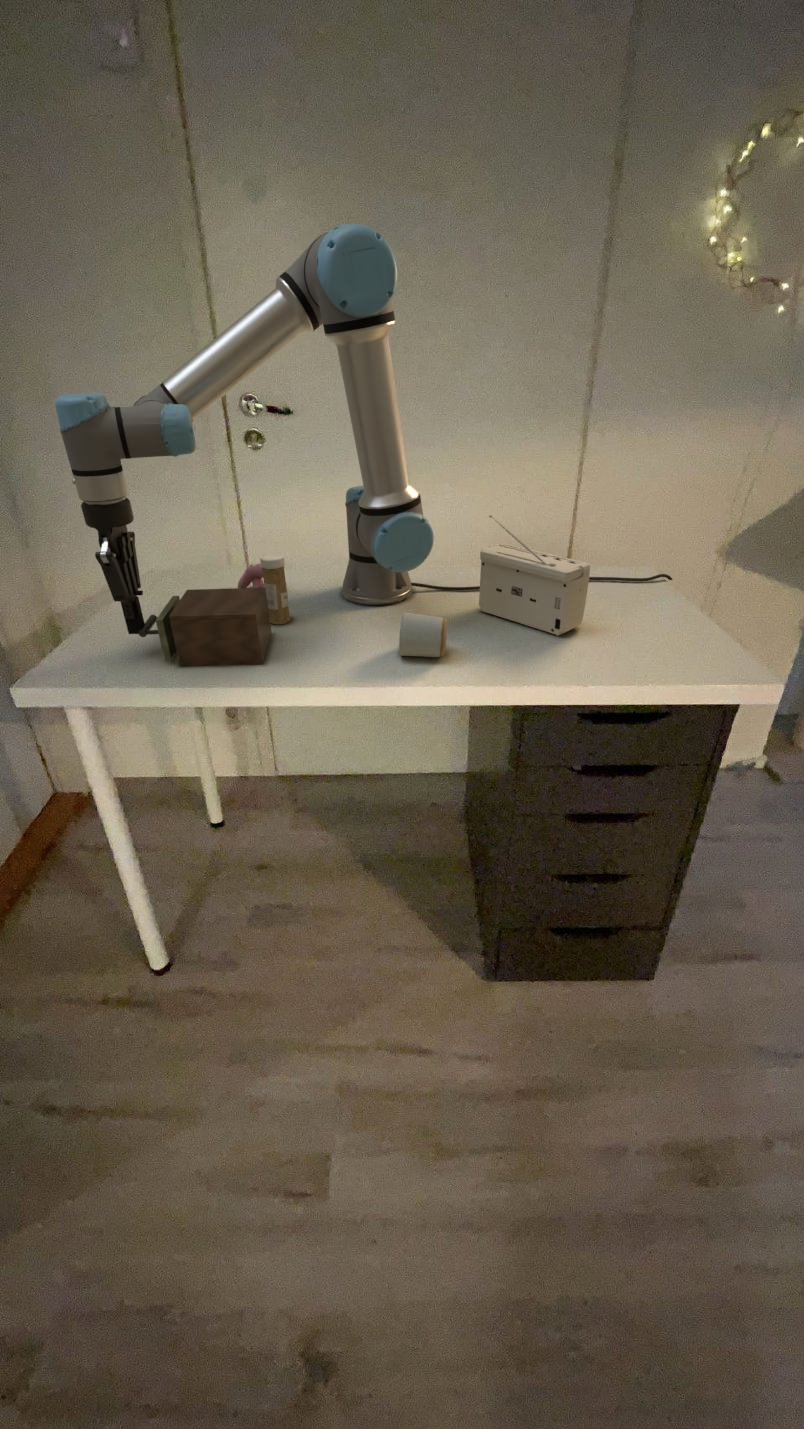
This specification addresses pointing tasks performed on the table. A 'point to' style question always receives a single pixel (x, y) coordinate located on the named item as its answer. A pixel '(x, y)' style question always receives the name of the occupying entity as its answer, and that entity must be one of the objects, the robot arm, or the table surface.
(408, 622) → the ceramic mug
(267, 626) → the cabinet
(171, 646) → the drawer
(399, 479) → the robot arm
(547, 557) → the radio
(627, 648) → the table surface
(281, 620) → the sprinkles bottle
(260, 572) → the pink curved ring
